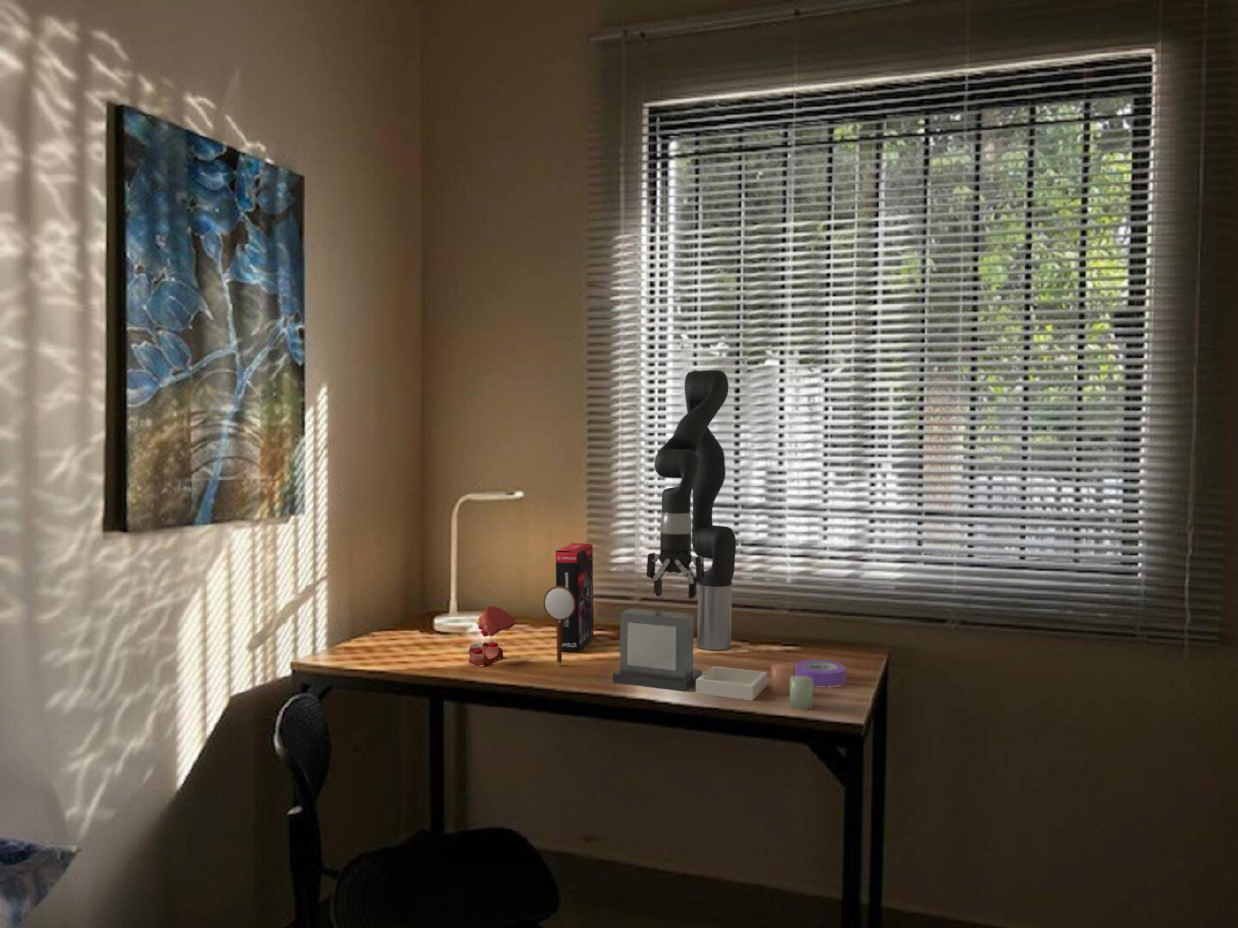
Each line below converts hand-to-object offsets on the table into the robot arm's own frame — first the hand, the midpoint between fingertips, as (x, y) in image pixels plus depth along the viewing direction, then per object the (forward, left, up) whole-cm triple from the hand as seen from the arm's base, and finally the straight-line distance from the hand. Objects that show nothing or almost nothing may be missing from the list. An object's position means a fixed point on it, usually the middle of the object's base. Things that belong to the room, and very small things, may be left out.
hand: (674, 597), depth 220 cm
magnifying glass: (+8, -27, -18) cm, 34 cm away
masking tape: (-6, +35, -19) cm, 40 cm away
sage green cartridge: (+16, +35, -18) cm, 42 cm away
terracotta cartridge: (+8, +29, -18) cm, 35 cm away
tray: (+10, +18, -18) cm, 27 cm away
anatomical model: (+12, -45, -18) cm, 50 cm away
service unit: (+10, 0, -18) cm, 21 cm away
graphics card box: (-13, -33, -18) cm, 40 cm away
